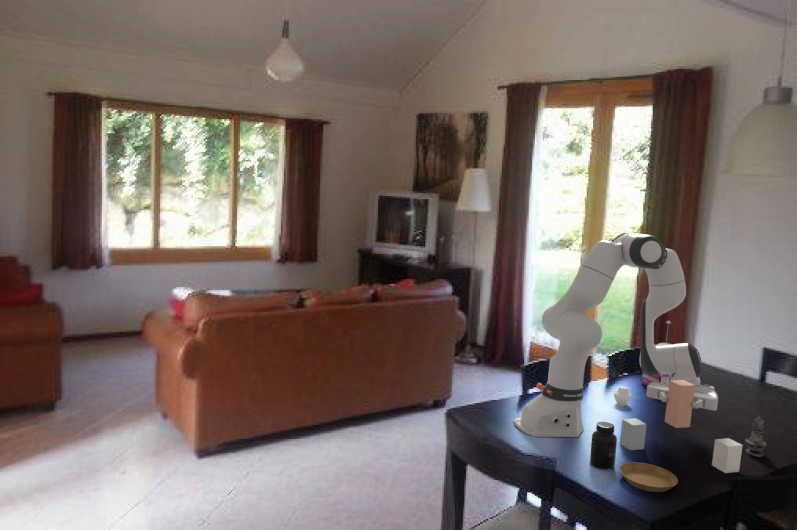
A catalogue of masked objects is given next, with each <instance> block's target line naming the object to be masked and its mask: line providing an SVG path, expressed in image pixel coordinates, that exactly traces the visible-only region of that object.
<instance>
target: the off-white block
mask: <svg viewBox="0 0 797 530" xmlns="http://www.w3.org/2000/svg"><path fill="white" fill-rule="evenodd" d="M743 446H744V445H743V444H741V443H740V442H737V441H735V440H734V439H731V438H729V437H727V438H717V439H716V438H715V439H714V446H713V453H712V462H711V466H713V467H714V468H715V467H716V469H717V470H719V471H720V472H723V473H725V474H729V473H738V472H740V467H741V459H742V458H741V457H742V453H743V451H742V450H743Z"/></svg>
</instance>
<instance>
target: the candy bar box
mask: <svg viewBox="0 0 797 530" xmlns="http://www.w3.org/2000/svg"><path fill="white" fill-rule="evenodd" d="M640 380H641V381H640V383H641V385H643V386H645V387H647V386H648V385H649V384H650V383H652V382H659V383H664V384H669V382H670V374H662V375H658V376H650V375H648V374H646V373H645V372H644V371H642V374H641V379H640Z"/></svg>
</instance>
